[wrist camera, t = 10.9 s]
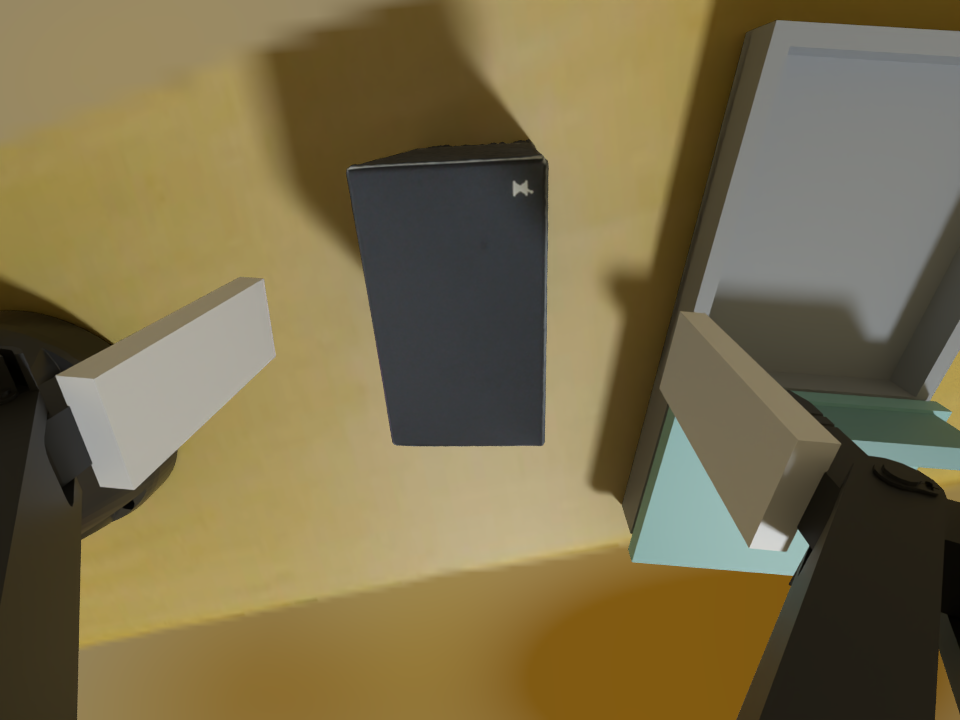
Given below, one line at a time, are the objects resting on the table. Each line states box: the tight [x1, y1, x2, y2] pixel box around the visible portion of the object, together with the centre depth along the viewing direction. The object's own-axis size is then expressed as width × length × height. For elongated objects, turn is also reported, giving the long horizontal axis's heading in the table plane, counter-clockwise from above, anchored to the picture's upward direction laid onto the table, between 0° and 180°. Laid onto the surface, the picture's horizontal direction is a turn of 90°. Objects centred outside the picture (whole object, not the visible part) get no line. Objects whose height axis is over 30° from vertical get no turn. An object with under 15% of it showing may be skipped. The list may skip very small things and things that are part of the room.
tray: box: [622, 20, 960, 534], centre depth 25 cm, size 14×27×2 cm, turn 177°
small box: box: [346, 139, 549, 446], centre depth 20 cm, size 11×6×10 cm, turn 3°
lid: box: [628, 391, 960, 575], centre depth 25 cm, size 14×13×4 cm
